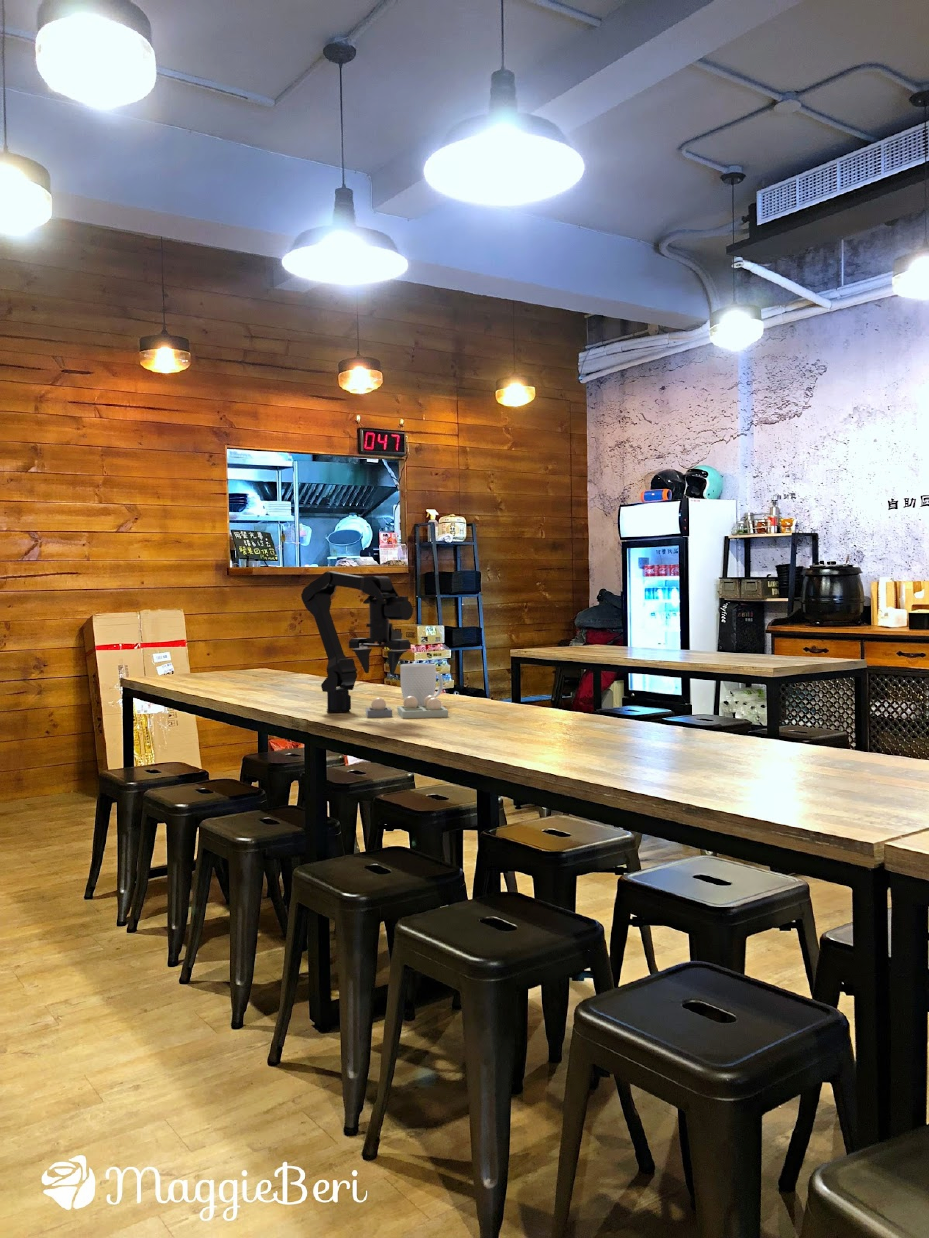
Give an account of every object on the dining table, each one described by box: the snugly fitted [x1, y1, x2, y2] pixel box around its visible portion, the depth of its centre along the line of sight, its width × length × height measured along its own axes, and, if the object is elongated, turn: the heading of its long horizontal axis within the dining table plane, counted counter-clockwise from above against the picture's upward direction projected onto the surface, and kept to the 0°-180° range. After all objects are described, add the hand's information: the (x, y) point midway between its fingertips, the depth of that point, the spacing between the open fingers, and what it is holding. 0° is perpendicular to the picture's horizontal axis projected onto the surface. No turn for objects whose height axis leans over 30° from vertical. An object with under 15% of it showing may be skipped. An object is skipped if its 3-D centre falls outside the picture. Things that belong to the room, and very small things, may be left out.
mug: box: [399, 662, 444, 706], centre depth 295 cm, size 15×11×13 cm
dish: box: [365, 706, 393, 718], centre depth 273 cm, size 7×7×2 cm
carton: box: [396, 695, 449, 719], centre depth 275 cm, size 13×13×5 cm
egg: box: [370, 697, 387, 710], centre depth 273 cm, size 4×4×4 cm
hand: (379, 673), depth 274 cm, fingers open, 9 cm apart
